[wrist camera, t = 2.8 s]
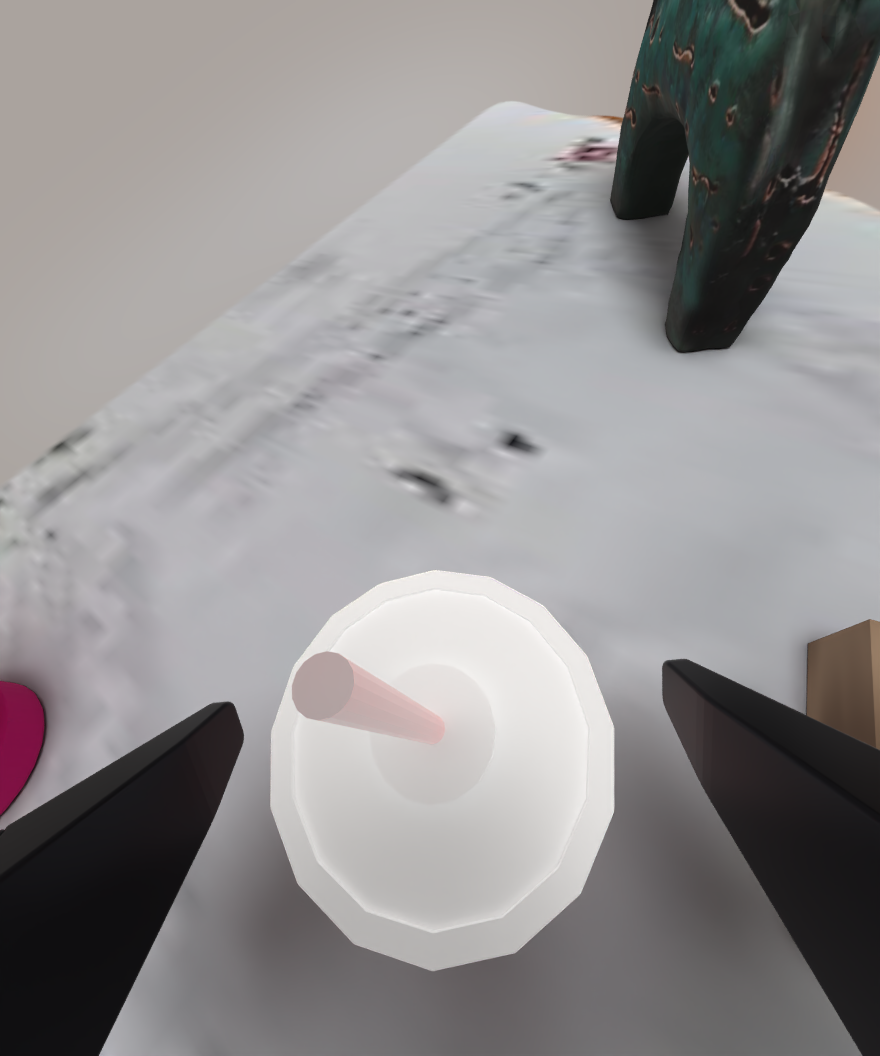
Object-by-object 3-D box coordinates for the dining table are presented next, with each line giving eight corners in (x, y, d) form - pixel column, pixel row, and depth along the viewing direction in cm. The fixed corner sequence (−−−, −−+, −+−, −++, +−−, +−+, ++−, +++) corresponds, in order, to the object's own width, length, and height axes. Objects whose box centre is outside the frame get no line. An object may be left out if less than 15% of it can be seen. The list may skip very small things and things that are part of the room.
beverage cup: (357, 746, 16) (-164, 698, 4) (468, 627, 17) (370, 312, 5) (478, 902, 13) (43, 2839, 1) (596, 744, 15) (1022, 665, 2)
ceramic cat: (591, 193, 32) (683, -453, 15) (679, 179, 32) (884, -523, 14) (647, 367, 23) (1080, -866, 6) (777, 354, 22) (1777, -1164, 5)
